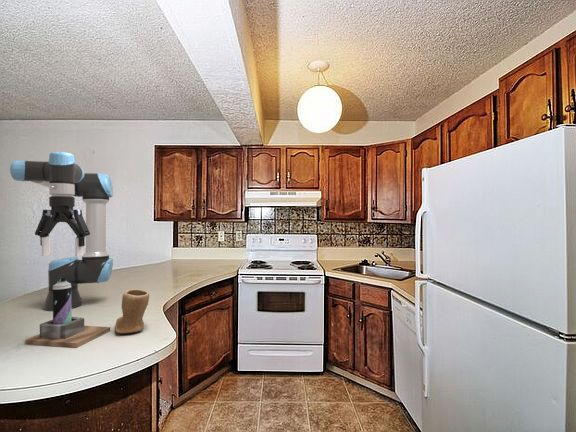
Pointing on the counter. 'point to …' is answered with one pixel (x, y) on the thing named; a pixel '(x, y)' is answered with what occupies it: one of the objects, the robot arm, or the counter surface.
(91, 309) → the counter surface
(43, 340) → the socket board
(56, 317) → the spray can
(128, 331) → the tan boot-shaped piece
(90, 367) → the counter surface
